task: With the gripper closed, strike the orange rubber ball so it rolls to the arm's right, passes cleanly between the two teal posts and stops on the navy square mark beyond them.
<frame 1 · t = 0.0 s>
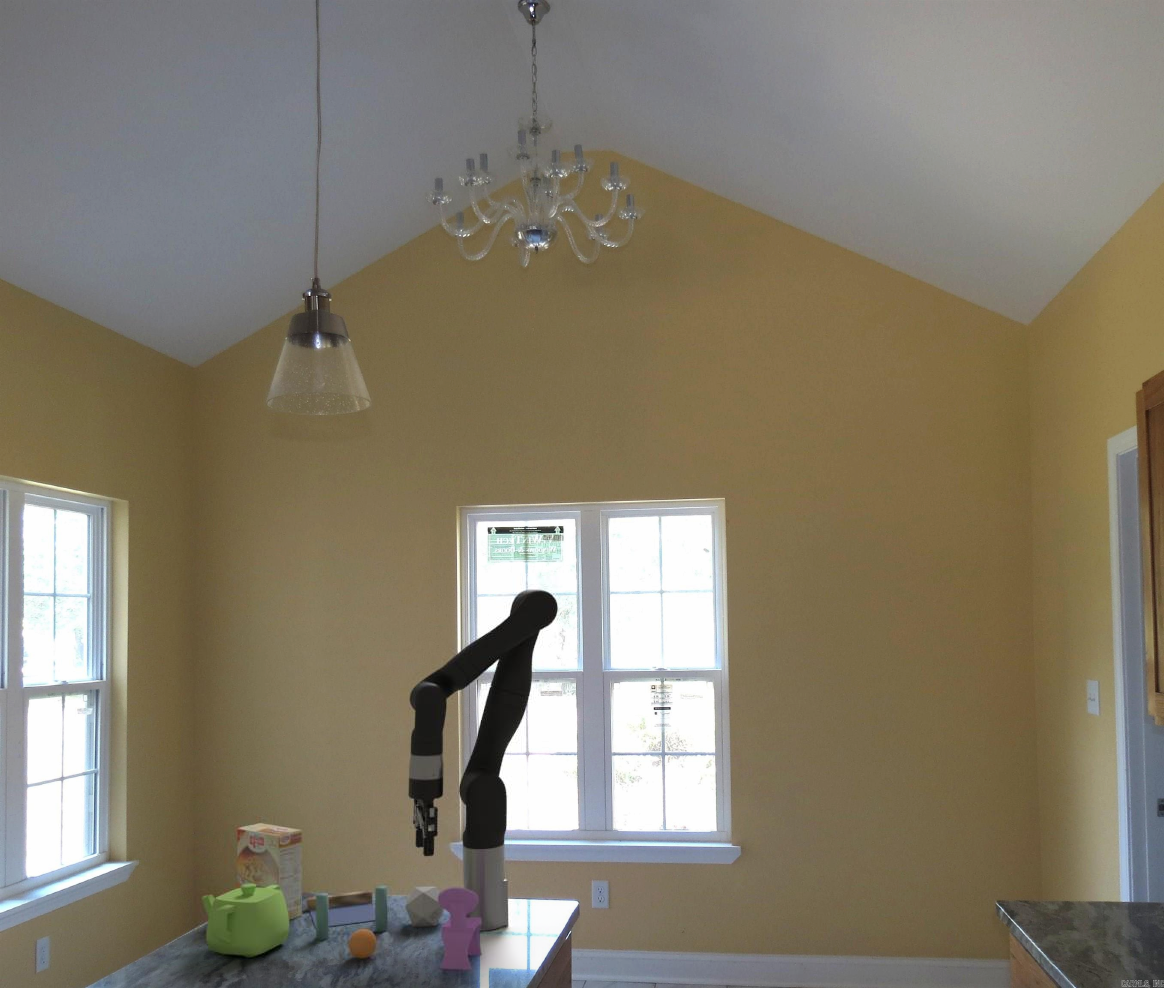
hand: (424, 851, 224), 17 cm above the counter, tool pointing down, fingers open, 8 cm apart
toy chair: (461, 962, 205), on the counter
teapot: (240, 949, 216), on the counter
post 1: (322, 938, 221), on the counter
coffeecake box: (269, 915, 238), on the counter
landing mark: (343, 915, 236), on the counter
post 2: (381, 930, 225), on the counter
die: (425, 925, 229), on the counter
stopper: (339, 905, 244), on the counter
ball: (362, 943, 208), on the counter
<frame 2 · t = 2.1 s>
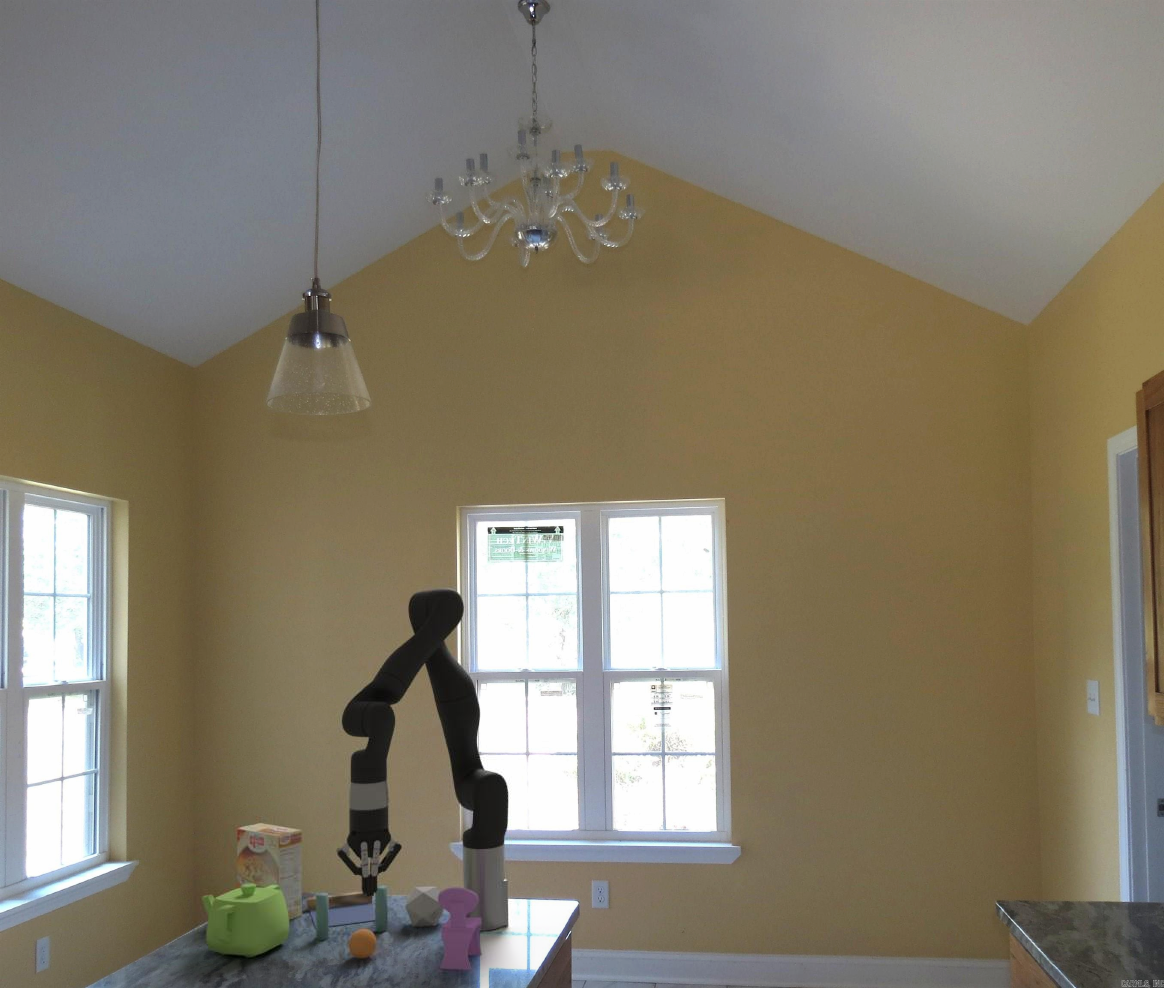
hand: (369, 895, 201), 15 cm above the counter, tool pointing down, fingers closed
nothing on the counter moved.
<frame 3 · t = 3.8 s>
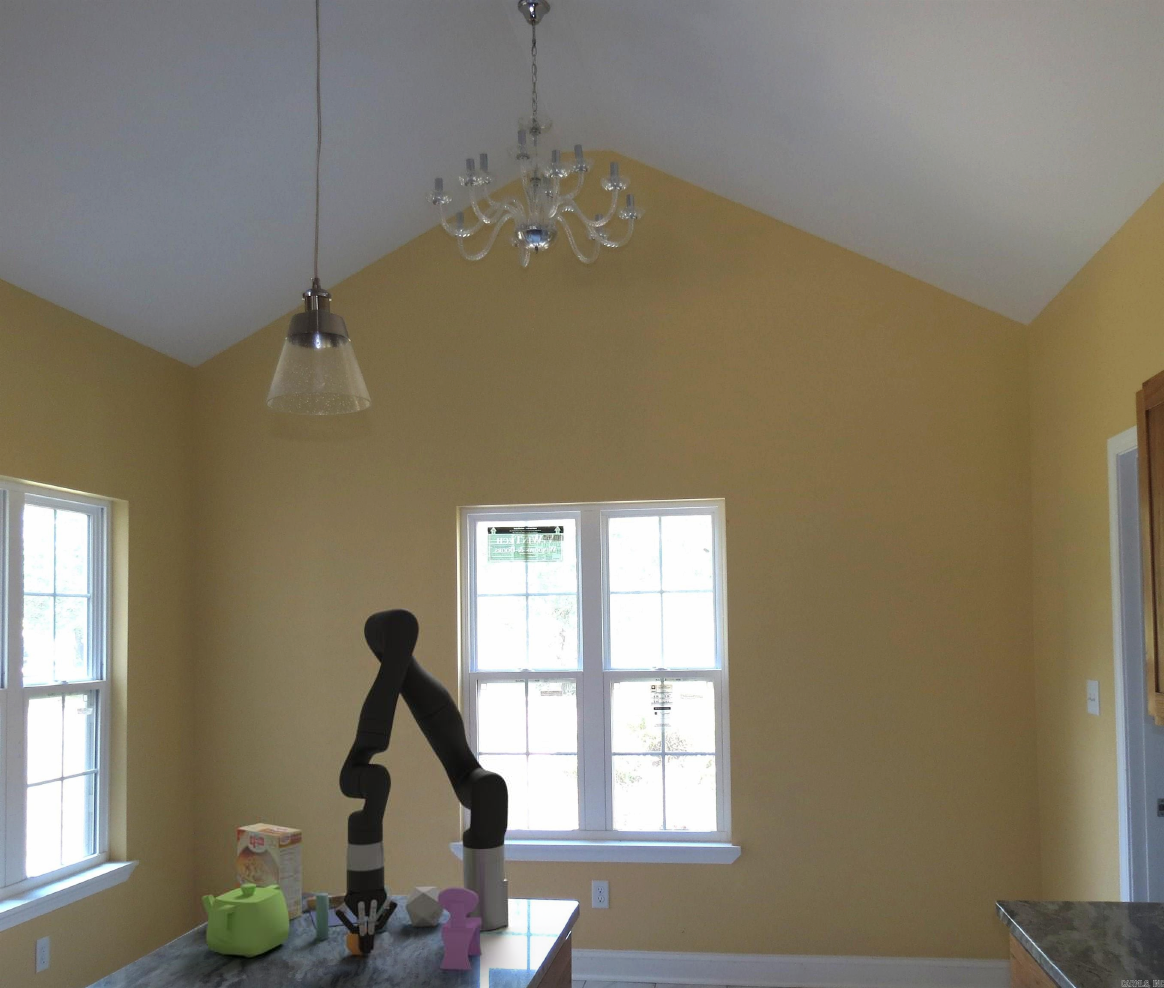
hand: (366, 953, 207), 1 cm above the counter, tool pointing down, fingers closed
ball: (359, 940, 210), on the counter
everything else where it was.
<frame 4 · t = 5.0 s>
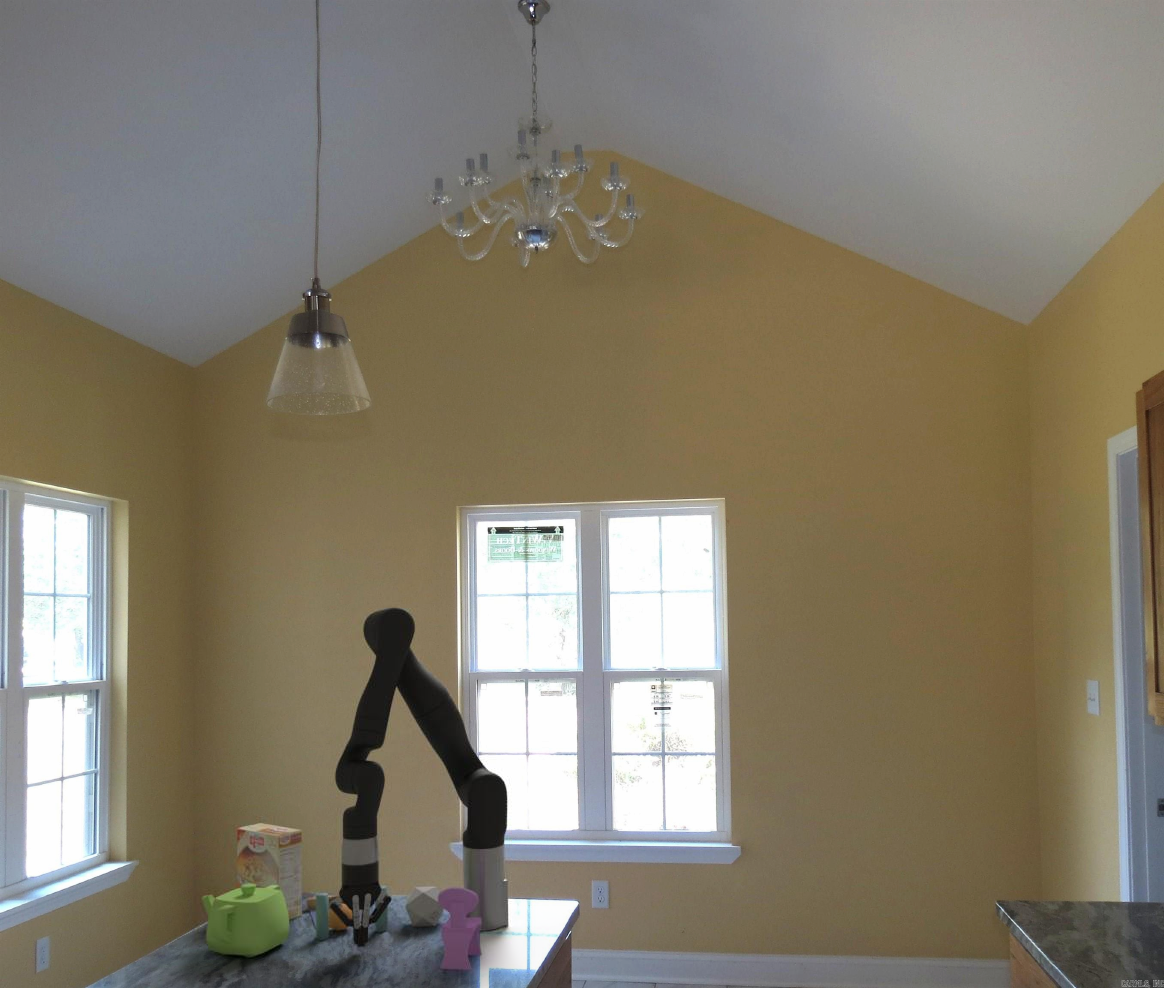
hand: (360, 945, 211), 1 cm above the counter, tool pointing down, fingers closed
ball: (339, 917, 226), on the counter
everything else where it was.
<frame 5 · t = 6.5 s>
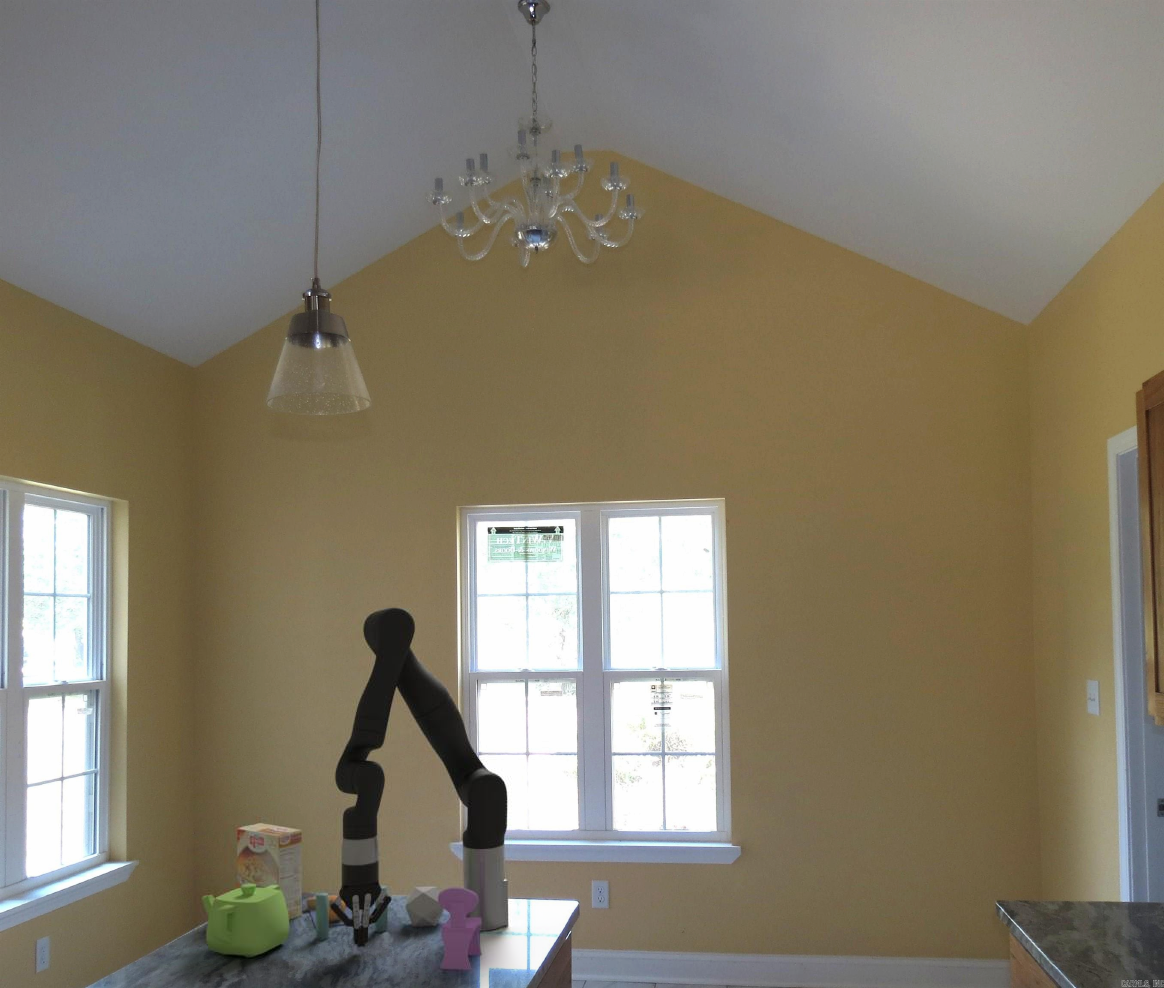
hand: (360, 945, 211), 1 cm above the counter, tool pointing down, fingers closed
ball: (332, 908, 232), on the counter
everything else where it was.
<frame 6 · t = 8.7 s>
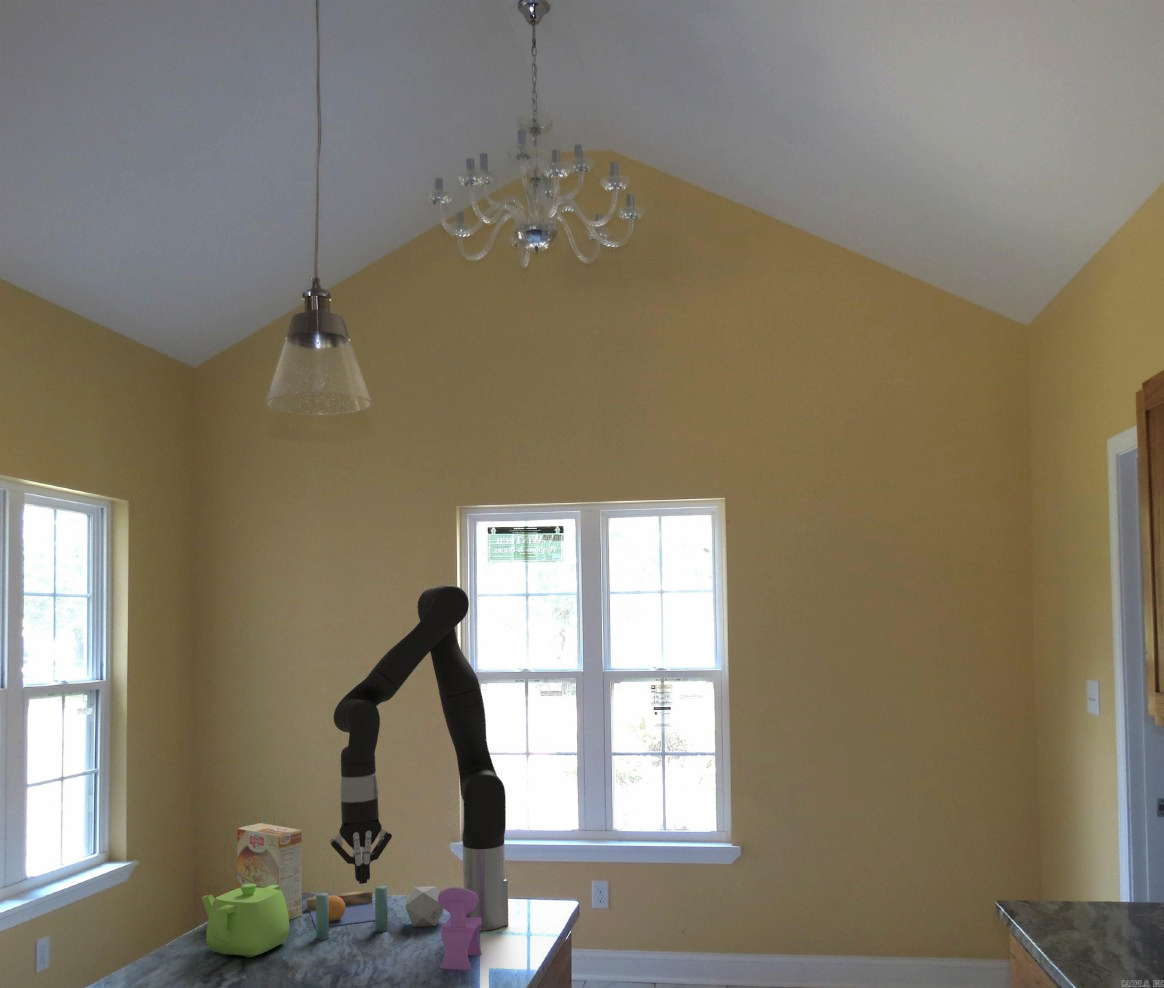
hand: (362, 882, 212), 14 cm above the counter, tool pointing down, fingers closed
nothing on the counter moved.
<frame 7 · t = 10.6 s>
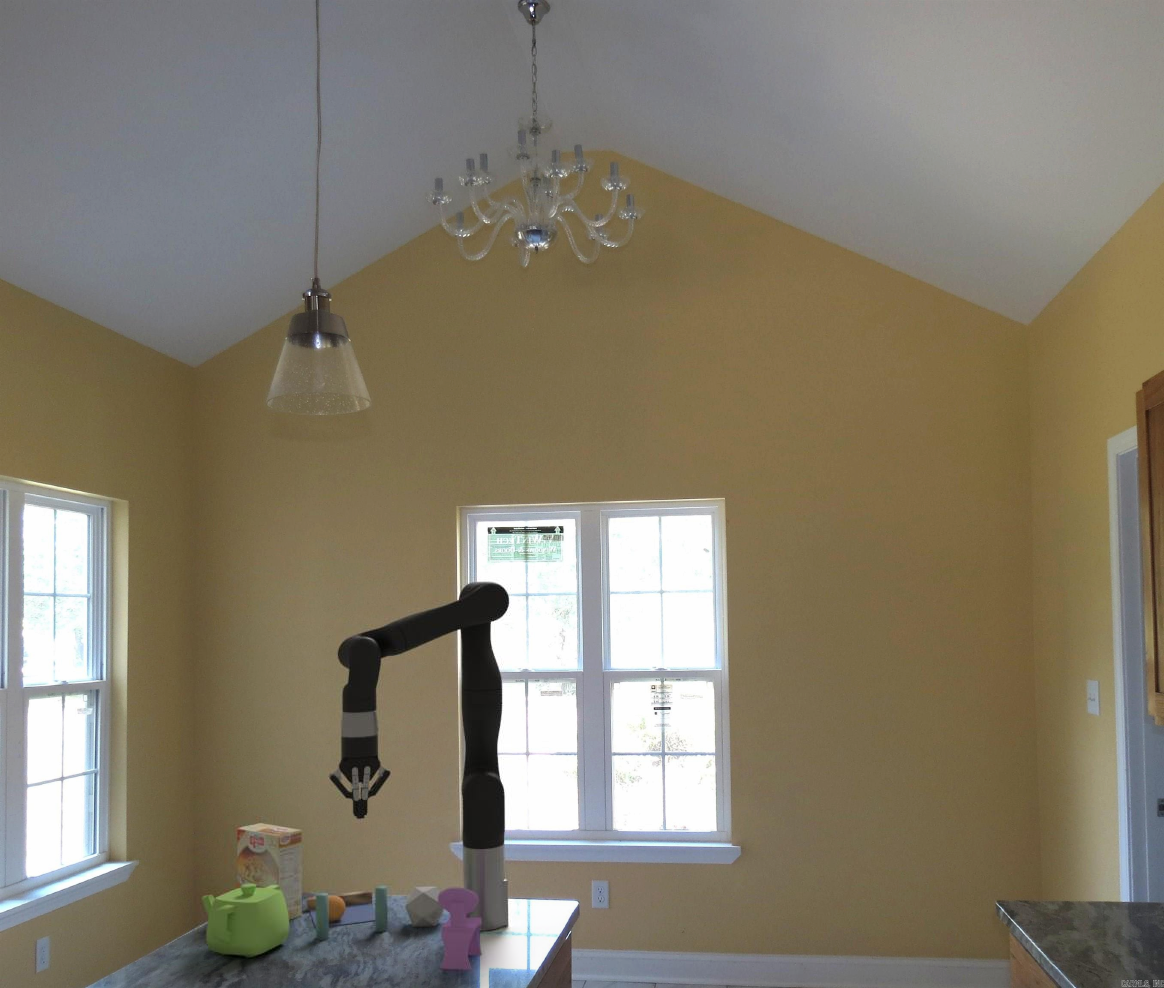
hand: (360, 818, 213), 27 cm above the counter, tool pointing down, fingers closed
nothing on the counter moved.
at the end: ball 4.3 cm from the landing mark (horizontally); ball never touched post 2; ball never touched post 1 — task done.
